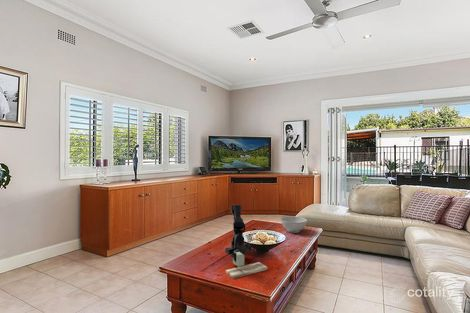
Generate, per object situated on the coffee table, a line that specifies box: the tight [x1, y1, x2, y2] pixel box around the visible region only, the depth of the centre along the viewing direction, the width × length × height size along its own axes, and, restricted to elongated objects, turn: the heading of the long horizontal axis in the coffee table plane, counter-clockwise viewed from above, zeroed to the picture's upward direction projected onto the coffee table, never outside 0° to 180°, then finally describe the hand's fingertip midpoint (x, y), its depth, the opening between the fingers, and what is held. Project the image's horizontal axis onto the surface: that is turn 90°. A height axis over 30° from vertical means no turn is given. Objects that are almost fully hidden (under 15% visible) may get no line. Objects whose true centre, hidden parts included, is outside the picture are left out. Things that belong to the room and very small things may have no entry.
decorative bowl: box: [280, 215, 308, 234], centre depth 266 cm, size 27×27×12 cm
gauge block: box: [232, 252, 245, 267], centre depth 182 cm, size 10×5×7 cm, turn 31°
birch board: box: [225, 261, 269, 280], centre depth 174 cm, size 10×27×2 cm, turn 120°
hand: (238, 261), depth 181 cm, fingers closed on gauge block, 5 cm apart
